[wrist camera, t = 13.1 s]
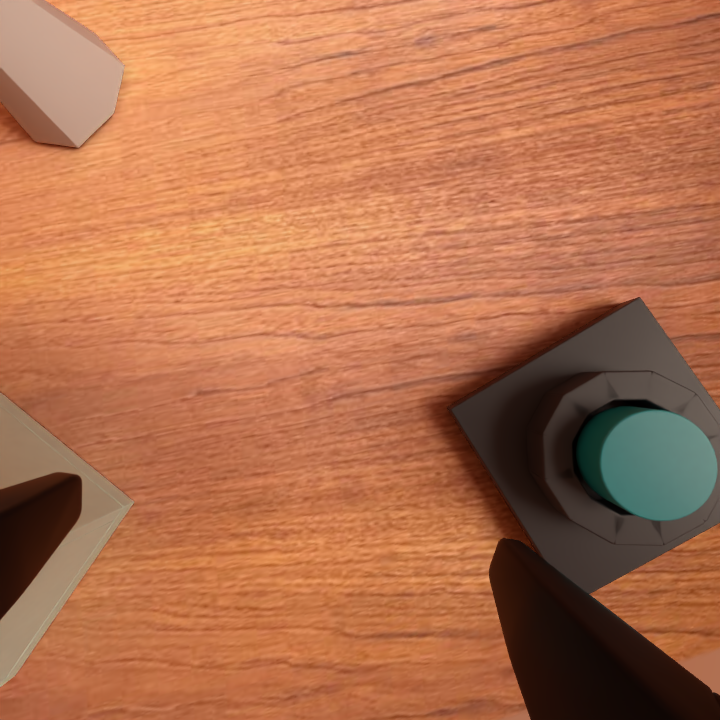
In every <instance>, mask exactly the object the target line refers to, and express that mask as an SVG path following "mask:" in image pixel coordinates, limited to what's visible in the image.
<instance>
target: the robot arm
mask: <svg viewBox="0 0 720 720" xmlns="http://www.w3.org/2000/svg"><path fill="white" fill-rule="evenodd" d="M81 511H82V479H81V477H80V476H79V475H77V474H71V473H65V472H55V473H51V474H48V475H45V476H42V477H38V478H35V479H32V480H29V481H26V482H22V483H19V484H16V485H13V486H9V487H6V488H3V489H0V620H1V619H2V618H3V617H4V615H5V614H6V613H7V612H8V611H9V610H10V608H11V607H12V606H13V605H14V604H15V603H16V601H17V600H18V599H19V598H20V597H21V595H22V594H23V593H24V592H25V590H26V589H27V588H28V586H29V585H30V584H31V583H32V581H33V580H34V579H35V577H36V576H37V575H38V573H39V572H40V571H41V569H42V568H43V567H44V565H45V564H46V563H47V561H48V560H49V559H50V557H51V556H52V555H53V553H54V552H55V551H56V549H57V548H58V547H59V545H60V544H61V542H62V541H63V540H64V538H65V537H66V536H67V534H68V533H69V532H70V530H71V529H72V528H73V526H74V525H75V524H76V522H77V521H78V519H79V517H80V514H81ZM489 579H490V583H491V587H492V591H493V595H494V599H495V603H496V607H497V611H498V615H499V619H500V623H501V627H502V631H503V635H504V639H505V643H506V646H507V650H508V654H509V657H510V660H511V663H512V666H513V669H514V673H515V675H516V678H517V681H518V684H519V687H520V690H521V693H522V696H523V699H524V702H525V704H526V707H527V710H528V713H529V716H530V719H531V720H720V695H718V694H717V693H712V691H711V689H710V688H709V687H708V686H707V685H705V684H704V683H703V682H702V681H700V680H699V679H698V678H696V677H695V676H694V675H693V674H691V673H690V672H689V671H687V670H686V669H685V668H684V667H682V666H681V665H680V664H678V663H677V662H676V661H675V660H673V659H672V658H671V657H669V656H668V655H667V654H666V653H664V652H663V651H662V650H660V649H659V648H658V647H656V646H655V645H654V644H653V643H651V642H650V641H649V640H647V639H646V638H645V637H644V636H642V635H641V634H640V633H638V632H637V631H636V630H635V629H633V628H632V627H631V626H629V625H628V624H627V623H626V622H624V621H623V620H622V619H620V618H619V617H618V616H617V615H615V614H614V613H613V612H611V611H610V610H609V609H607V608H606V607H605V606H604V605H602V604H601V603H600V602H598V601H597V600H596V599H595V598H593V597H592V596H591V595H589V594H588V593H587V592H586V591H584V590H583V589H582V588H580V587H579V586H578V585H577V584H575V583H574V582H573V581H571V580H570V579H569V578H568V577H566V576H565V575H564V574H562V573H561V572H560V571H559V570H557V569H556V568H555V567H553V566H552V565H551V564H550V563H548V562H547V561H546V560H544V559H543V558H542V557H540V556H539V555H538V554H537V553H535V552H534V551H533V550H531V549H530V548H529V547H528V546H526V545H525V544H524V543H522V542H521V541H519V540H514V539H507V538H503V539H501V540H500V541H499V542H498V544H497V547H496V550H495V553H494V556H493V559H492V562H491V565H490V568H489Z"/></svg>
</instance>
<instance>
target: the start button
mask: <svg viewBox="0 0 720 720" xmlns="http://www.w3.org/2000/svg"><path fill="white" fill-rule="evenodd" d="M576 459H577V464H578V468H579V470H580V473H581V475H582V477H583V478H584V480H585V481H586V483H587V484H588V485H589V487H590V488H591V489H592V490H593V491H595V492H596V493H597V494H598V495H600V496H601V497H603V498H605V499H606V500H608V501H610V502H612V503H613V504H615V505H617V506H619V507H620V508H622V509H624V510H626V511H627V512H629V513H631V514H633V515H635V516H638V517H641V518H644V519H648V520H653V521H670V520H676V519H680V518H683V517H685V516H687V515H690V514H691V513H693V512H695V511H696V510H698V509H699V508H700V507H701V506H702V505H703V504H704V503H705V502H706V501H707V500H708V498H709V496H710V495H711V493H712V491H713V489H714V487H715V483H716V479H717V459H716V455H715V452H714V449H713V447H712V445H711V443H710V441H709V439H708V438H707V436H706V435H705V434H704V433H703V431H702V430H701V429H700V428H699V427H697V426H696V425H695V424H694V423H692V422H691V421H690V420H688V419H686V418H685V417H683V416H681V415H678V414H676V413H673V412H670V411H665V410H658V409H650V408H641V407H632V406H619V407H614V408H610V409H607V410H604V411H602V412H600V413H598V414H597V415H595V416H594V417H593V418H592V419H591V420H589V421H588V423H587V424H586V425H585V426H584V428H583V429H582V431H581V433H580V435H579V438H578V441H577V447H576Z"/></svg>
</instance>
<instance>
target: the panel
mask: <svg viewBox="0 0 720 720" xmlns="http://www.w3.org/2000/svg"><path fill="white" fill-rule="evenodd" d="M619 406H632V407H641V408H650V409H658V410H665V411H670V412H673V413H676V414H678V415H681V416H683V417H685V418H686V419H688V420H690V421H691V422H692V423H694V424H695V425H696V426H697V427H699V428H700V429H701V430H702V431H703V433H704V434H705V435H706V436H707V438H708V439H709V441H710V443H711V445H712V447H713V449H714V452H715V455H716V459H717V479H716V483H715V487H714V489H713V491H712V493H711V495H710V496H709V498H708V500H707V501H706V502H705V503H704V504H703V505H702V506H701V507H700V508H699V509H698V510H696V511H695V512H693V513H691V514H690V515H687V516H685V517H683V518H680V519H676V520H670V521H653V520H648V519H644V518H641V517H638V516H635V515H633V514H631V513H629V512H627V511H626V510H624V509H622V508H620V507H619V506H617V505H615V504H613V503H612V502H610V501H608V500H606V499H605V498H603V497H601V496H600V495H598V494H597V493H596V492H595V491H593V490H592V489H591V488H590V487H589V485H588V484H587V483H586V481H585V480H584V478H583V477H582V475H581V473H580V470H579V468H578V464H577V459H576V447H577V441H578V438H579V435H580V433H581V431H582V429H583V428H584V426H585V425H586V424H587V423H588V421H589V420H591V419H592V418H593V417H594V416H595V415H597V414H598V413H600V412H602V411H604V410H607V409H610V408H614V407H619ZM447 409H448V410H449V412H450V414H451V415H452V417H453V418H454V420H455V422H456V423H457V425H458V426H459V428H460V430H461V431H462V433H463V435H464V436H465V438H466V439H467V441H468V443H469V444H470V446H471V447H472V449H473V451H474V452H475V454H476V455H477V457H478V459H479V460H480V462H481V463H482V465H483V467H484V468H485V470H486V471H487V473H488V475H489V476H490V478H491V479H492V481H493V483H494V484H495V486H496V487H497V489H498V491H499V492H500V494H501V495H502V497H503V499H504V500H505V502H506V503H507V505H508V507H509V508H510V510H511V512H512V513H513V515H514V516H515V518H516V520H517V521H518V523H519V524H520V526H521V528H522V529H523V531H524V532H525V534H526V536H527V537H528V539H529V540H530V542H531V544H532V545H533V547H534V548H535V550H536V552H537V553H538V555H539V556H540V557H542V558H543V559H544V560H546V561H547V562H548V563H550V564H551V565H552V566H553V567H555V568H556V569H557V570H559V571H560V572H561V573H562V574H564V575H565V576H566V577H568V578H569V579H570V580H571V581H573V582H574V583H575V584H577V585H578V586H579V587H580V588H582V589H583V590H584V591H586V592H587V593H588V594H590V593H592V592H594V591H596V590H598V589H600V588H601V587H603V586H605V585H607V584H609V583H611V582H612V581H614V580H616V579H618V578H620V577H622V576H623V575H625V574H627V573H629V572H631V571H632V570H634V569H636V568H638V567H640V566H642V565H643V564H645V563H647V562H649V561H651V560H653V559H654V558H656V557H658V556H660V555H662V554H664V553H665V552H667V551H669V550H671V549H673V548H675V547H676V546H678V545H680V544H682V543H684V542H686V541H687V540H689V539H691V538H693V537H695V536H697V535H698V534H700V533H702V532H704V531H706V530H708V529H709V528H711V527H713V526H715V525H717V524H719V523H720V409H719V408H718V406H717V405H716V404H715V402H714V401H713V399H712V398H711V397H710V395H709V394H708V392H707V391H706V390H705V388H704V387H703V385H702V384H701V383H700V381H699V380H698V378H697V377H696V375H695V374H694V373H693V371H692V370H691V368H690V367H689V366H688V364H687V363H686V361H685V360H684V359H683V357H682V356H681V354H680V353H679V352H678V350H677V349H676V347H675V346H674V344H673V343H672V342H671V340H670V339H669V337H668V336H667V335H666V333H665V332H664V330H663V329H662V328H661V326H660V325H659V323H658V322H657V321H656V319H655V318H654V316H653V315H652V313H651V312H650V311H649V309H648V308H647V306H646V305H645V304H644V302H643V301H642V299H641V298H640V297H638V298H635V299H632V300H629V301H626V302H623V303H621V304H620V305H618V306H616V307H615V308H613V309H611V310H610V311H608V312H606V313H605V314H603V315H601V316H600V317H598V318H596V319H595V320H593V321H591V322H589V323H588V324H586V325H584V326H583V327H581V328H579V329H578V330H576V331H574V332H573V333H571V334H569V335H568V336H566V337H564V338H563V339H561V340H559V341H558V342H556V343H554V344H552V345H551V346H549V347H547V348H546V349H544V350H542V351H541V352H539V353H537V354H536V355H534V356H532V357H531V358H529V359H527V360H526V361H524V362H522V363H520V364H519V365H517V366H515V367H514V368H512V369H510V370H509V371H507V372H505V373H504V374H502V375H500V376H499V377H497V378H495V379H494V380H492V381H490V382H489V383H487V384H485V385H483V386H482V387H480V388H478V389H477V390H475V391H473V392H472V393H470V394H468V395H467V396H465V397H463V398H462V399H460V400H458V401H457V402H455V403H453V404H451V405H450V406H448V407H447Z"/></svg>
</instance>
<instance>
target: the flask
mask: <svg viewBox="0 0 720 720" xmlns="http://www.w3.org/2000/svg"><path fill="white" fill-rule="evenodd" d="M124 67H125V65H124V64H123V63H122V62H121V61H120V60H119V59H118V58H117V56H116V55H115V54H114V53H113V52H112V51H111V50H110V49H109V48H108V47H107V46H106V44H105V43H104V42H103V41H102V40H101V39H100V38H99V37H98V36H97V35H96V34H95V33H94V32H92V31H91V30H89V29H88V28H86V27H85V26H84V25H82V24H81V23H79V22H78V21H76V20H75V19H73V18H71V17H70V16H68V15H67V14H65V13H64V12H62V11H61V10H59V9H58V8H56V7H54V6H53V5H51V4H50V3H48V2H47V1H45V0H0V102H1V103H2V104H3V105H4V106H5V108H6V109H7V110H8V111H9V112H10V114H11V115H12V116H13V117H14V118H15V119H16V121H17V122H18V123H19V124H20V125H21V126H22V128H23V129H24V130H25V131H26V132H27V133H28V134H29V135H30V137H31V138H32V139H33V140H34V141H35V142H41V143H49V144H56V145H63V146H70V147H77V148H79V147H80V146H81V145H82V144H83V143H84V142H85V141H86V140H87V139H88V138H89V137H90V136H91V135H92V134H93V133H94V132H95V131H96V130H97V129H98V128H99V127H100V126H101V125H102V124H103V123H104V122H105V121H106V120H108V119H109V118H110V117H111V116H112V115H113V114H114V111H115V107H116V103H117V98H118V94H119V89H120V85H121V81H122V76H123V72H124Z"/></svg>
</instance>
